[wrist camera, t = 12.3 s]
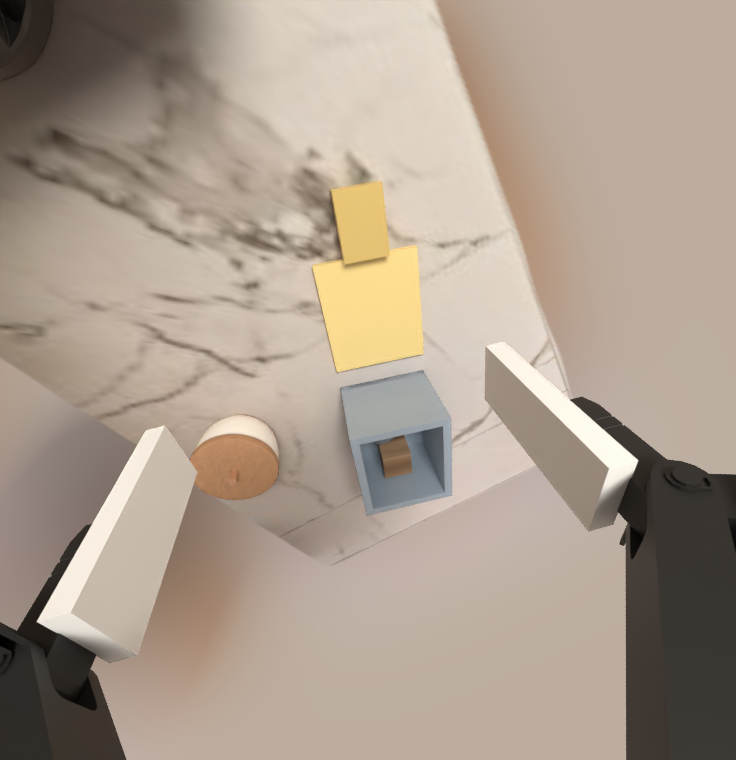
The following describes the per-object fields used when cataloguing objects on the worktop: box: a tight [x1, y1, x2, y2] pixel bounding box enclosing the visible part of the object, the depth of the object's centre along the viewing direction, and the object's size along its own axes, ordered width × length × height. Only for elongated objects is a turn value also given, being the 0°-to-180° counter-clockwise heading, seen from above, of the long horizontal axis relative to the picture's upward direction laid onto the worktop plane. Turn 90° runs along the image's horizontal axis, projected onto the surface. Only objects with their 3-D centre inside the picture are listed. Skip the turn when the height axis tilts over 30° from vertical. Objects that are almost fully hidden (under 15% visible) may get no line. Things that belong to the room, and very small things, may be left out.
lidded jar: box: [190, 415, 279, 500], centre depth 45 cm, size 11×11×9 cm
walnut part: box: [377, 435, 412, 479], centre depth 51 cm, size 4×4×6 cm
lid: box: [312, 181, 424, 372], centre depth 40 cm, size 21×12×2 cm, turn 9°
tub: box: [341, 370, 452, 515], centre depth 47 cm, size 14×12×11 cm
